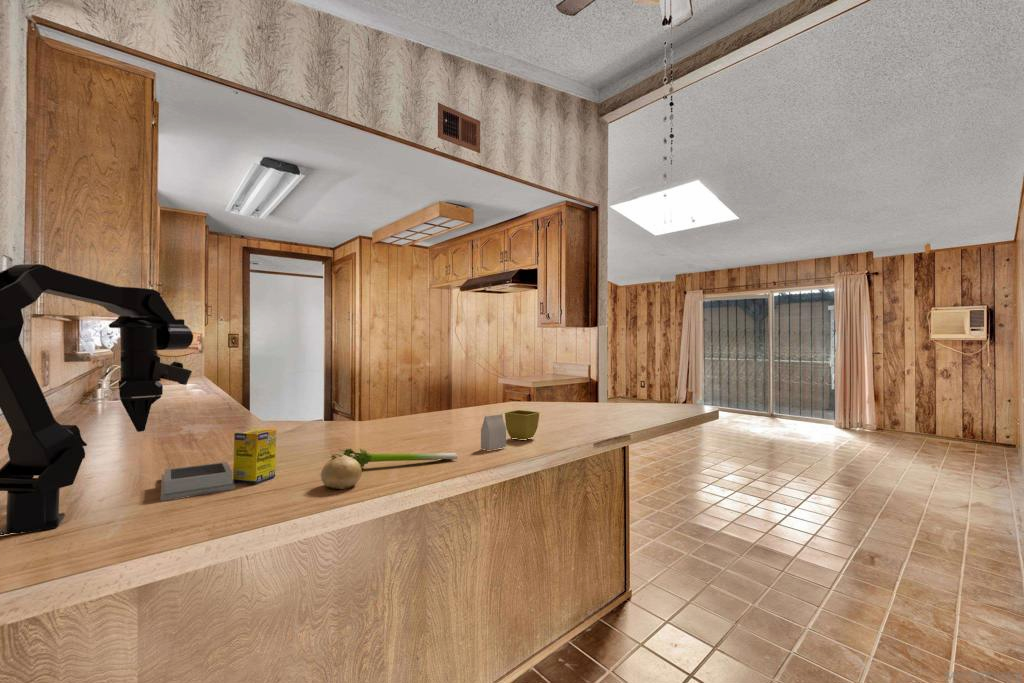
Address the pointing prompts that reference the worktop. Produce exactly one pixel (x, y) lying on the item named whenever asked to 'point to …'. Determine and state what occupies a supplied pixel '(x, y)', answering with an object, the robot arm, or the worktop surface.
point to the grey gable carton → (493, 432)
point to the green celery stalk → (395, 456)
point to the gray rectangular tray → (196, 480)
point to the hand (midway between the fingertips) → (139, 427)
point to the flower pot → (521, 423)
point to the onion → (341, 472)
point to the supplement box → (254, 456)
